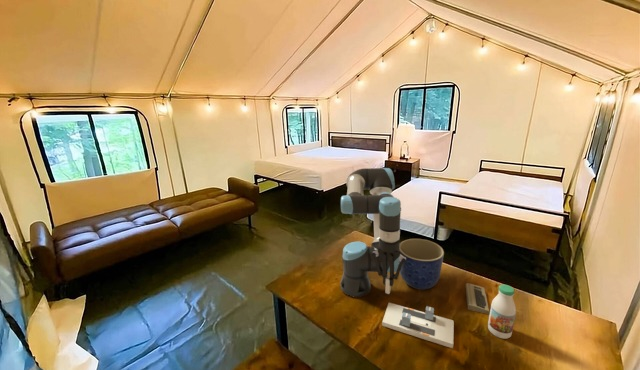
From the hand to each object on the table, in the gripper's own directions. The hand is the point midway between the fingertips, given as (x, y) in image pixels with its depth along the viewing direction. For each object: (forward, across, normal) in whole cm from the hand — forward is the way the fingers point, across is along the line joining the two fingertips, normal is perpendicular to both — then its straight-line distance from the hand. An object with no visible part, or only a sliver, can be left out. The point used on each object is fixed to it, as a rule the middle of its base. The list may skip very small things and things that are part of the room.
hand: (388, 291), depth 104 cm
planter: (+16, +8, +32) cm, 37 cm away
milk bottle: (+16, +40, +13) cm, 45 cm away
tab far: (+13, +15, +7) cm, 21 cm away
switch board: (+16, +11, +4) cm, 20 cm away
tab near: (+13, +7, 0) cm, 15 cm away
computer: (+16, +34, +29) cm, 47 cm away
